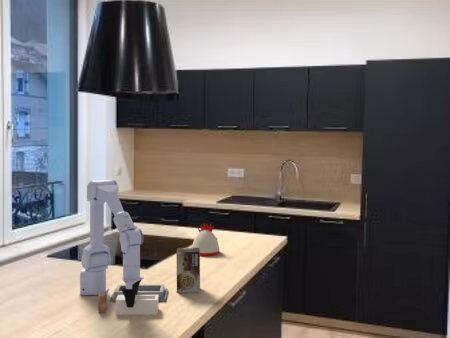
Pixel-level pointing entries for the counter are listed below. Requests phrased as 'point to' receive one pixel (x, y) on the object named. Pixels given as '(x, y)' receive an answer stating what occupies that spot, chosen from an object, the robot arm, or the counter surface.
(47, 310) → the counter surface
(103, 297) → the terracotta flat slab
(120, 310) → the white hollow block
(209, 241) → the kitchen timer
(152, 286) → the cradle
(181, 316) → the counter surface
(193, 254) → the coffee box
